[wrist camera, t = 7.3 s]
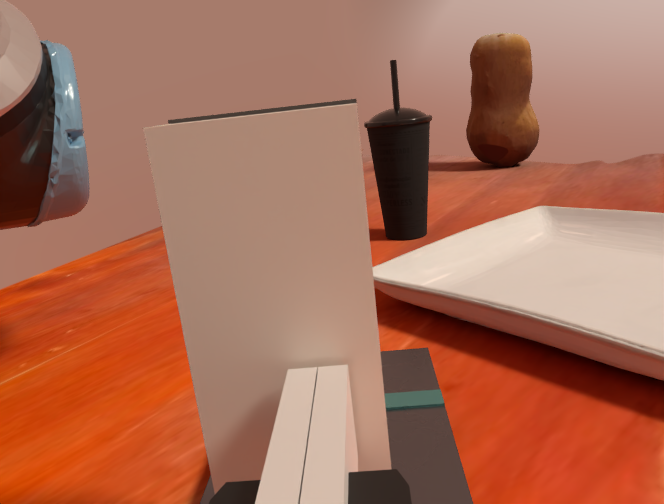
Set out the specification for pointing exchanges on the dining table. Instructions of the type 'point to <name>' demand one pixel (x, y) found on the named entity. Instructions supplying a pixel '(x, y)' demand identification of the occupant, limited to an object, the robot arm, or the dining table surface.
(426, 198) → the drinking cup
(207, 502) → the dark grey marked board
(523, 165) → the dining table surface
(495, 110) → the butternut squash
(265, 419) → the fader tab
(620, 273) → the square plate
